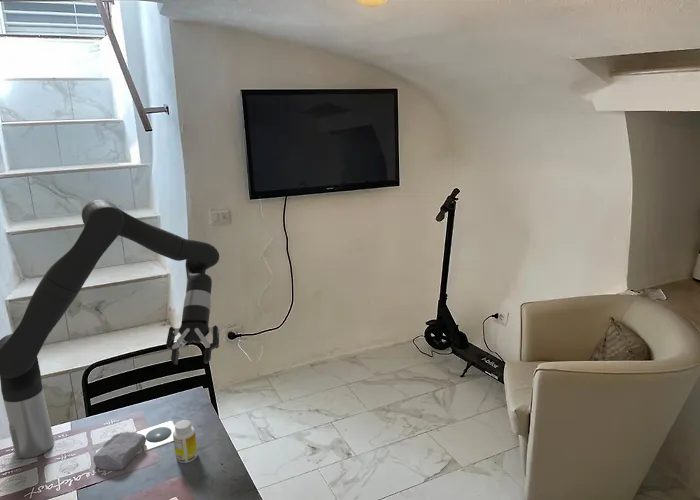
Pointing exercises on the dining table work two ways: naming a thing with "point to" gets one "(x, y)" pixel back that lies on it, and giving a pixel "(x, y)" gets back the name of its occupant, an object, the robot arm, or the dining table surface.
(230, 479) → the dining table surface
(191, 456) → the supplement bottle
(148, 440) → the cream square pad
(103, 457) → the stone block
